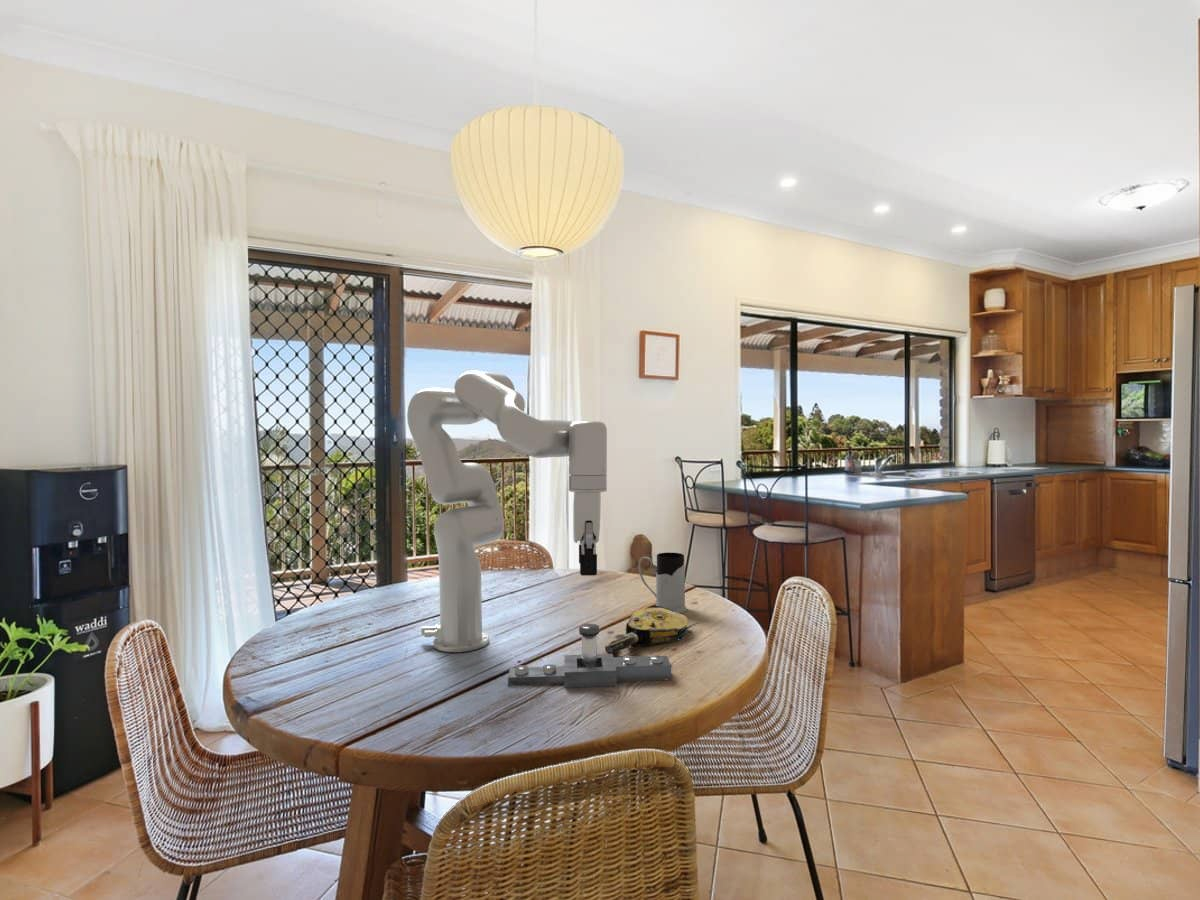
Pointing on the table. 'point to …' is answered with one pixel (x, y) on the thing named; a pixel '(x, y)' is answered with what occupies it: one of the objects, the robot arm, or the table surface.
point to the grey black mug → (669, 581)
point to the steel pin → (589, 644)
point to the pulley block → (651, 628)
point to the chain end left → (551, 677)
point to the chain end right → (619, 668)
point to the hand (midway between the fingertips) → (587, 569)
